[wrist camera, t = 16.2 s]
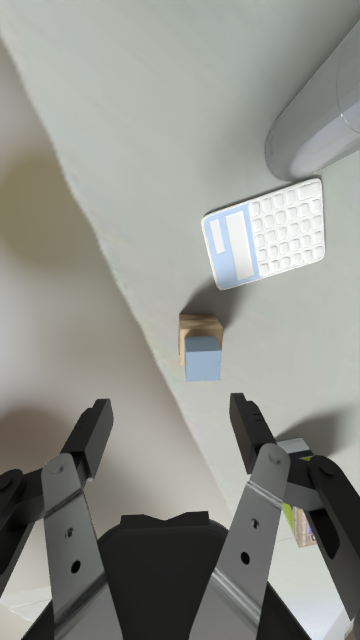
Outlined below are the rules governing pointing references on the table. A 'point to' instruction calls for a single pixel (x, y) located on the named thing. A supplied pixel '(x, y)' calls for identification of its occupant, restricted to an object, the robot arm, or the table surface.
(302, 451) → the tea box
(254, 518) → the robot arm
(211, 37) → the table surface
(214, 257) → the calculator
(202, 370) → the blue cube
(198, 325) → the top block
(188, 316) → the base block
